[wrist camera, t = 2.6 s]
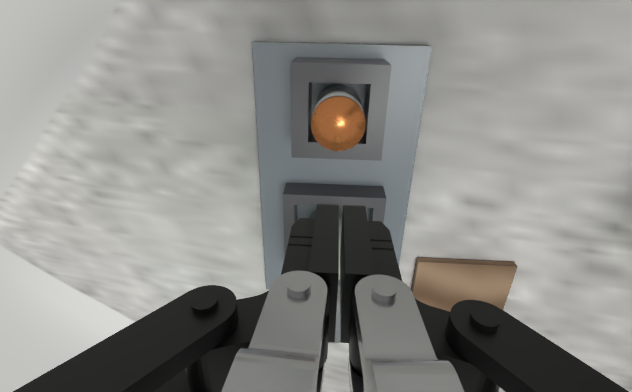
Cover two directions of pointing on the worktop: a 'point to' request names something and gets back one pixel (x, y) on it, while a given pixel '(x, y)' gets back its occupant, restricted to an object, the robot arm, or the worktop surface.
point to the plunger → (338, 118)
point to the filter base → (326, 165)
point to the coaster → (461, 281)
